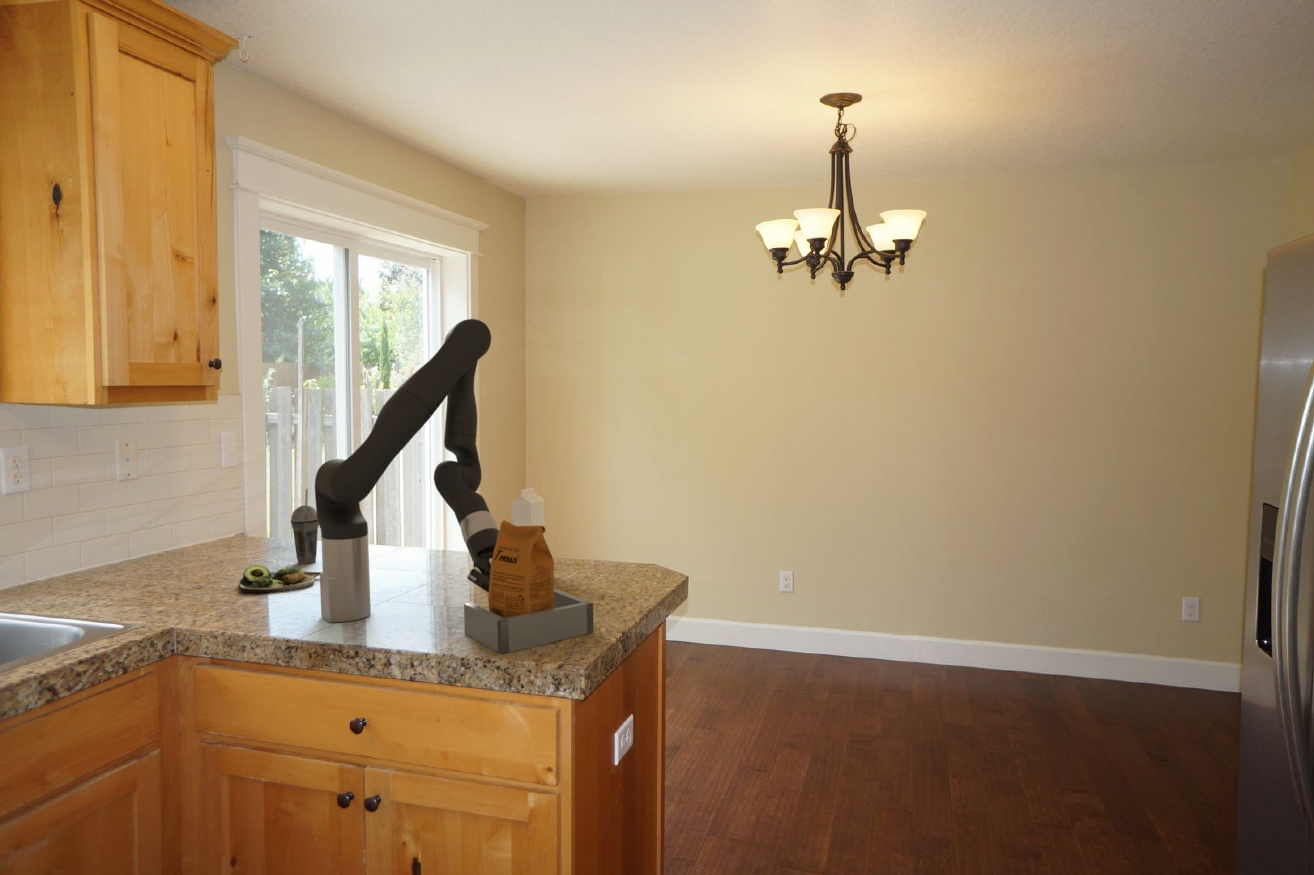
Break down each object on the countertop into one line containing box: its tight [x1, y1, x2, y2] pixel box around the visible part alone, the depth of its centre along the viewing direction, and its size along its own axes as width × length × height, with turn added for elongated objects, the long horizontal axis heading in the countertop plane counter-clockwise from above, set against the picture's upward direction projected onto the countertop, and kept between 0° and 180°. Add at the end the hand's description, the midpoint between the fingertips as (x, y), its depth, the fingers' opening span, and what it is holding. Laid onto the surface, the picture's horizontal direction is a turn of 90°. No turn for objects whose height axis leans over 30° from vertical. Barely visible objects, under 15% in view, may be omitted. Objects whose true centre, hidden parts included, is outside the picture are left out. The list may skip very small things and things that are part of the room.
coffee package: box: [487, 520, 555, 618], centre depth 167 cm, size 10×12×22 cm
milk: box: [510, 486, 546, 540], centre depth 215 cm, size 6×6×22 cm
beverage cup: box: [290, 488, 320, 565], centre depth 231 cm, size 7×7×20 cm
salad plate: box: [238, 564, 321, 595], centre depth 209 cm, size 19×18×5 cm
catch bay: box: [463, 587, 594, 655], centre depth 168 cm, size 20×16×6 cm
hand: (511, 606), depth 174 cm, fingers closed
